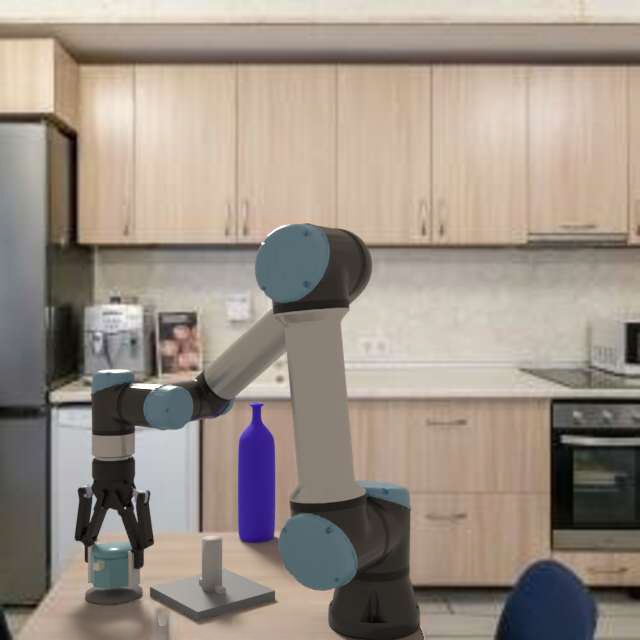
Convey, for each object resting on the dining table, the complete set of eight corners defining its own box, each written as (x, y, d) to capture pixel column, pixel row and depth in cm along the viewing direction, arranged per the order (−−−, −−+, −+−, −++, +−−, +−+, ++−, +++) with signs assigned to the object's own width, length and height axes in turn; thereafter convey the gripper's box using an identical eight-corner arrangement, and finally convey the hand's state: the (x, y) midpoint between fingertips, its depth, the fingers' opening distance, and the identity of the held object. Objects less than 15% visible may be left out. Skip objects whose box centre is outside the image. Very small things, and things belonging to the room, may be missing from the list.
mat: (152, 596, 151) (152, 593, 151) (100, 609, 145) (100, 606, 145) (126, 581, 159) (126, 578, 159) (75, 593, 152) (75, 590, 152)
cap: (115, 593, 145) (115, 559, 145) (77, 588, 148) (77, 554, 148) (148, 574, 155) (148, 541, 155) (113, 569, 158) (113, 537, 158)
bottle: (269, 544, 183) (270, 406, 182) (233, 541, 185) (233, 405, 184) (279, 533, 191) (279, 401, 190) (244, 531, 193) (244, 400, 192)
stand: (275, 598, 150) (275, 540, 150) (197, 621, 140) (197, 557, 139) (224, 576, 162) (224, 521, 162) (149, 594, 152) (149, 536, 151)
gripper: (174, 456, 151) (175, 583, 152) (77, 449, 158) (78, 570, 158) (152, 464, 144) (153, 597, 145) (52, 456, 151) (53, 583, 151)
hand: (114, 583), depth 152 cm, fingers closed on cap, 8 cm apart
